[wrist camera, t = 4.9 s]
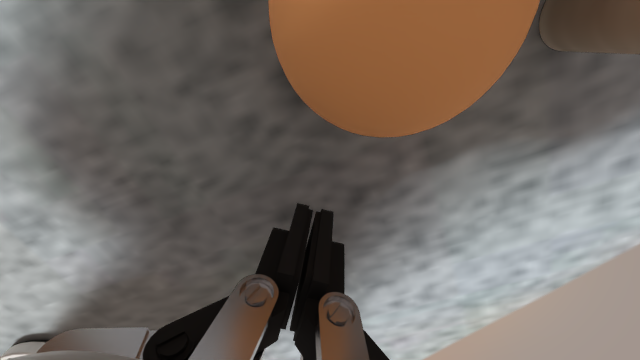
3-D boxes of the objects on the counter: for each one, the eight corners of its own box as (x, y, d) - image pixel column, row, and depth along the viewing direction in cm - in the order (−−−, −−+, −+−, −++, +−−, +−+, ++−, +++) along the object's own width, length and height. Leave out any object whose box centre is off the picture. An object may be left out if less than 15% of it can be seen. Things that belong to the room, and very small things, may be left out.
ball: (668, -354, 3) (435, -32, 9) (210, -367, 3) (269, -22, 9) (655, 104, 4) (444, 134, 10) (271, 142, 4) (289, 150, 10)
